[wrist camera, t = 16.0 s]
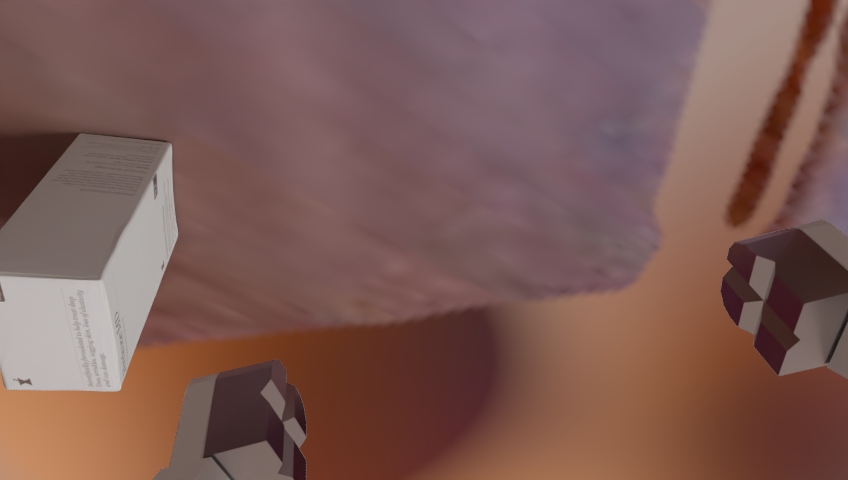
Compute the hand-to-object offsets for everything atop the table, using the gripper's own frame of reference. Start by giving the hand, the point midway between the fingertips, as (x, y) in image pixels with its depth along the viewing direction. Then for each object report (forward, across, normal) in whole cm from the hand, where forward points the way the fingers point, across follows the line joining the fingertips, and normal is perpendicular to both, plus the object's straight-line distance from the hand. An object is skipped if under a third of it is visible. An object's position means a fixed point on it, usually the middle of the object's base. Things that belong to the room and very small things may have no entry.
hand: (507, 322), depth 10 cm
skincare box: (+29, +20, +10) cm, 37 cm away
